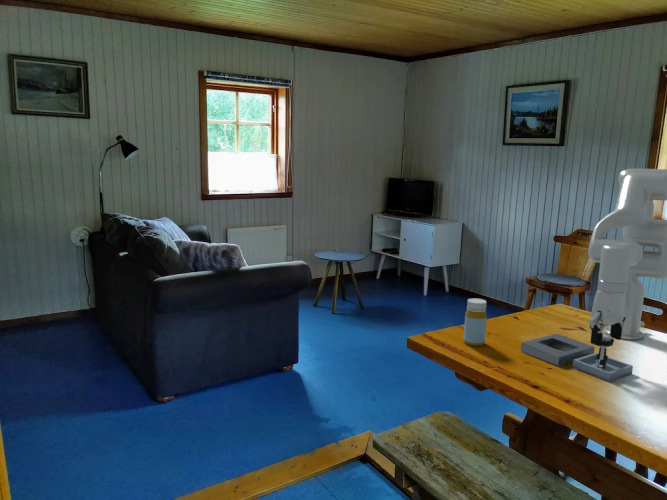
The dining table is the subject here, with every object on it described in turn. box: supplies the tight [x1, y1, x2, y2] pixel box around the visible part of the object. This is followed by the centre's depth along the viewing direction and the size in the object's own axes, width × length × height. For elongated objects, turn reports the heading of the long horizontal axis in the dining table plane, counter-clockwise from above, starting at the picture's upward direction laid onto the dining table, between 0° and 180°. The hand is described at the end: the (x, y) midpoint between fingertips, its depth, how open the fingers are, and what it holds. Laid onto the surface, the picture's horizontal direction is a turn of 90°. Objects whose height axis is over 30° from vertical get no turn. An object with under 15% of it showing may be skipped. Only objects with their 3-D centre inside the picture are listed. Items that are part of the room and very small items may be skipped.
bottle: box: [463, 297, 488, 347], centre depth 176 cm, size 7×7×15 cm
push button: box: [595, 333, 615, 370], centre depth 156 cm, size 7×5×10 cm
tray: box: [572, 352, 634, 383], centre depth 156 cm, size 12×12×2 cm
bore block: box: [520, 333, 595, 367], centre depth 169 cm, size 18×14×3 cm
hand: (605, 341), depth 155 cm, fingers open, 9 cm apart
